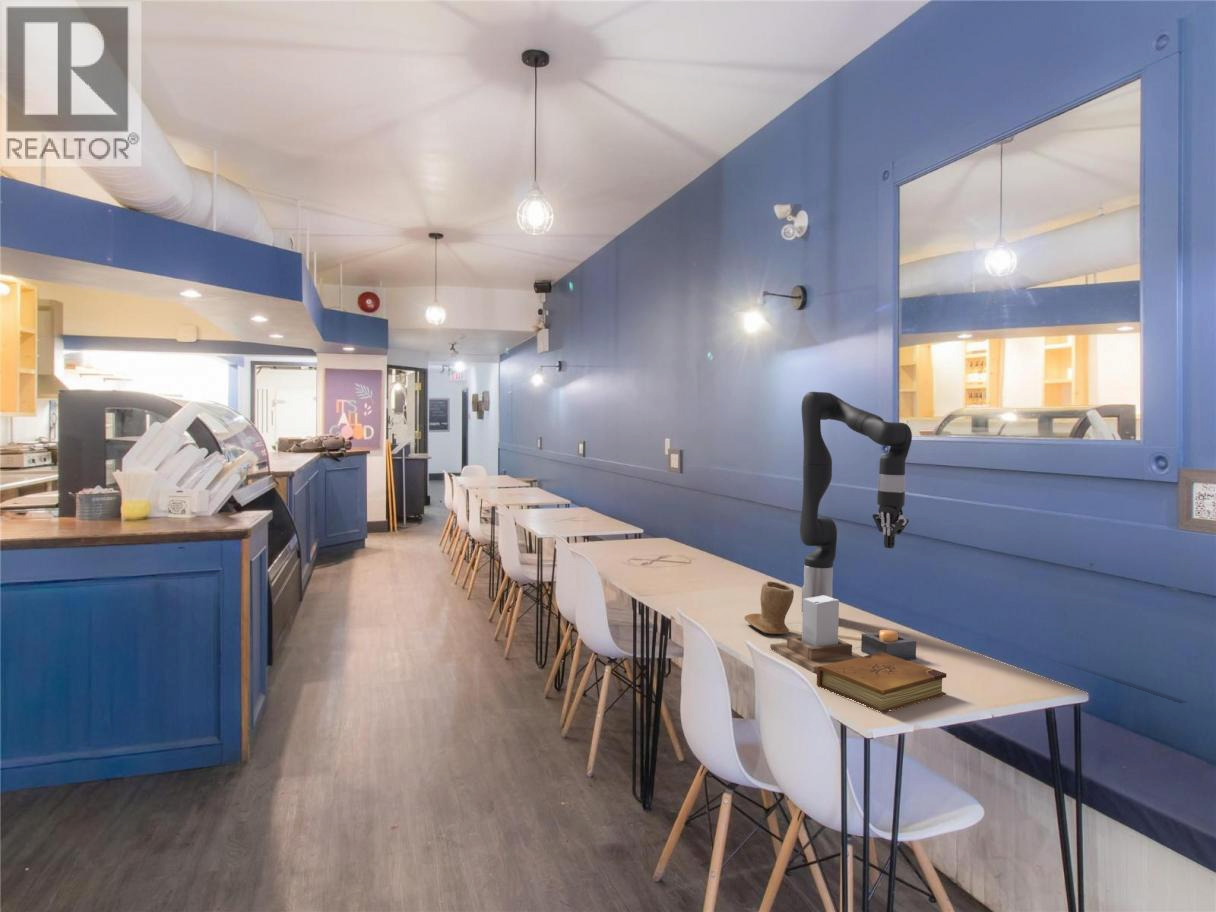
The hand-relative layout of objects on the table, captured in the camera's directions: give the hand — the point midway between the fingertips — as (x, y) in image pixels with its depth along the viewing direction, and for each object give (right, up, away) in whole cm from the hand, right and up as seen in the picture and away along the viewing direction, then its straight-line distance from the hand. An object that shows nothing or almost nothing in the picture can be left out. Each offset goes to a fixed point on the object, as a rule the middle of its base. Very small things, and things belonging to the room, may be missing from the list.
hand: (889, 547), depth 206 cm
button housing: (-6, -28, -13) cm, 32 cm away
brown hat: (-33, -27, +10) cm, 44 cm away
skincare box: (-26, -27, -16) cm, 40 cm away
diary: (-18, -30, -40) cm, 53 cm away
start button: (-6, -26, -13) cm, 29 cm away
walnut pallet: (-26, -28, -16) cm, 41 cm away
